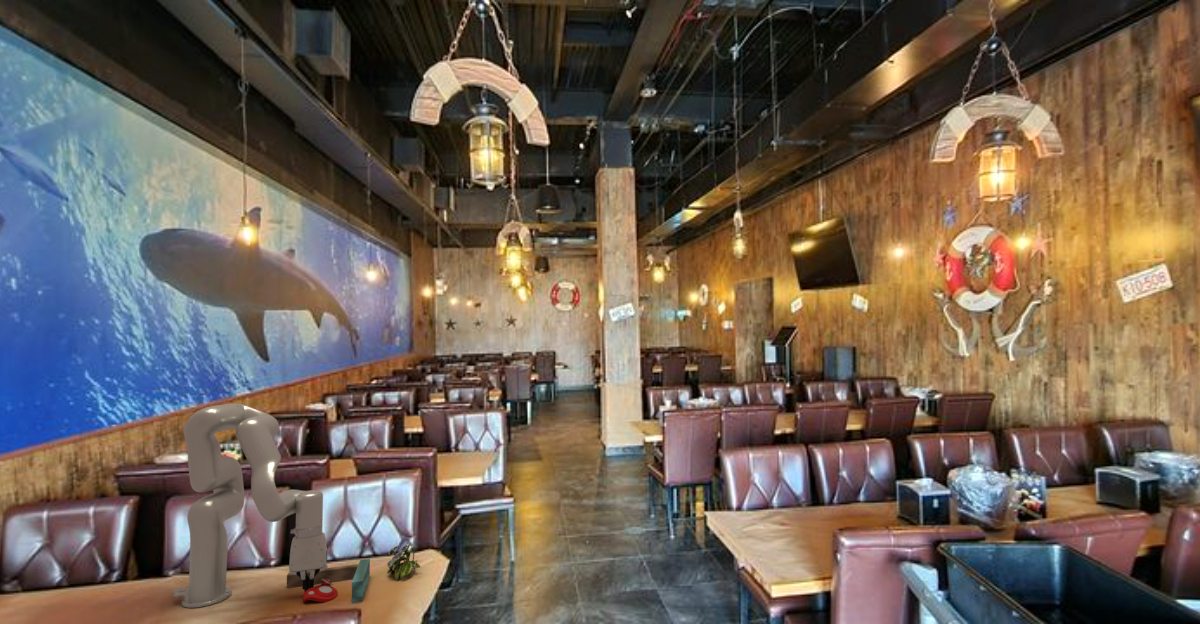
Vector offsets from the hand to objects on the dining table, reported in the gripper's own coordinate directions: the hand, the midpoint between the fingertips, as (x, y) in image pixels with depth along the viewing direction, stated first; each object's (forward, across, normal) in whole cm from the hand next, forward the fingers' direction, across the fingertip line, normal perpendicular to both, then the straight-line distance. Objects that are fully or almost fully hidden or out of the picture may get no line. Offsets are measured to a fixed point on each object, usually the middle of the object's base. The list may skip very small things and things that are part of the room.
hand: (308, 590), depth 168 cm
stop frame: (+1, +5, 0) cm, 5 cm away
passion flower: (+2, +28, +7) cm, 29 cm away
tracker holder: (+2, +5, -2) cm, 6 cm away
